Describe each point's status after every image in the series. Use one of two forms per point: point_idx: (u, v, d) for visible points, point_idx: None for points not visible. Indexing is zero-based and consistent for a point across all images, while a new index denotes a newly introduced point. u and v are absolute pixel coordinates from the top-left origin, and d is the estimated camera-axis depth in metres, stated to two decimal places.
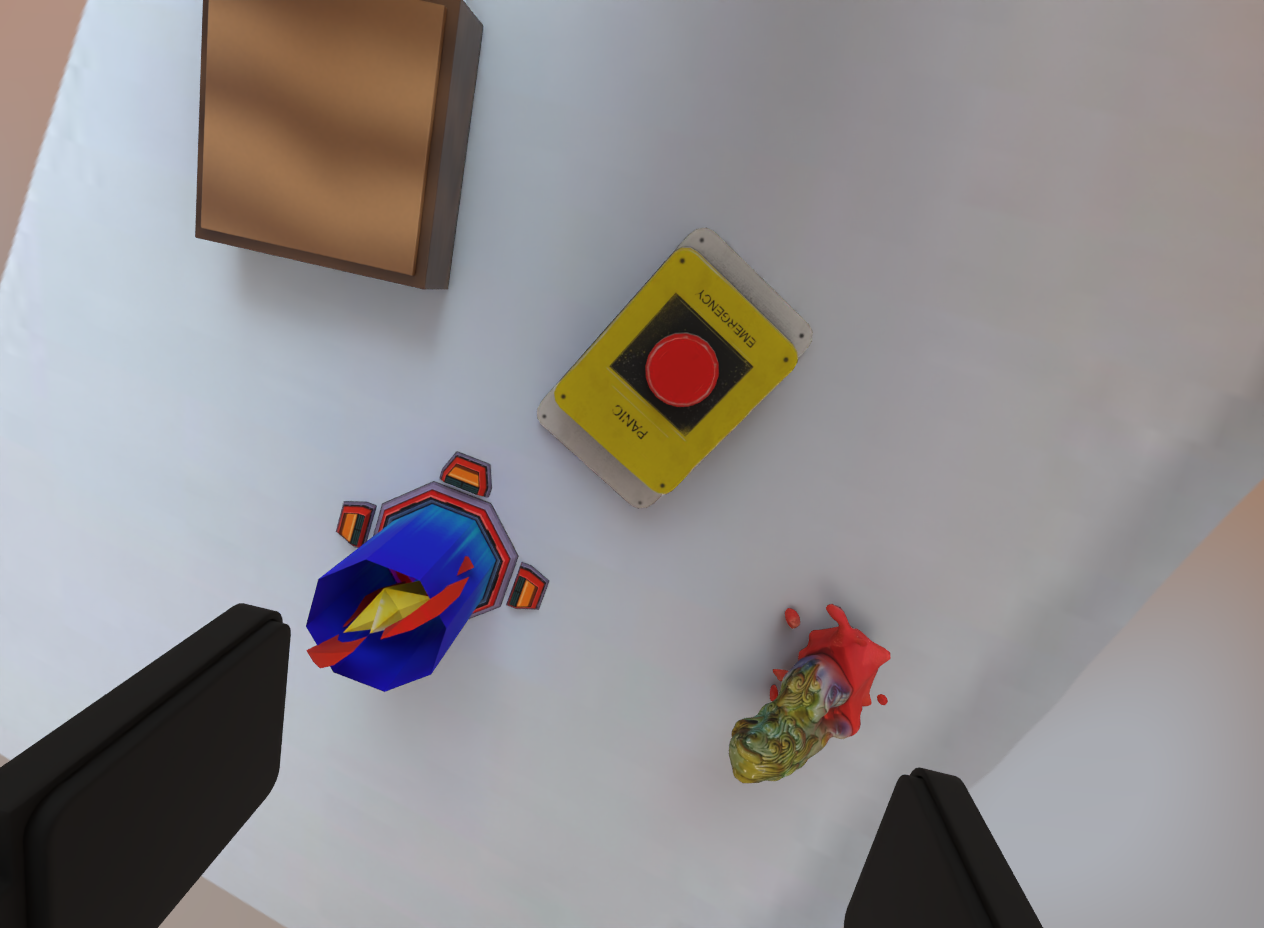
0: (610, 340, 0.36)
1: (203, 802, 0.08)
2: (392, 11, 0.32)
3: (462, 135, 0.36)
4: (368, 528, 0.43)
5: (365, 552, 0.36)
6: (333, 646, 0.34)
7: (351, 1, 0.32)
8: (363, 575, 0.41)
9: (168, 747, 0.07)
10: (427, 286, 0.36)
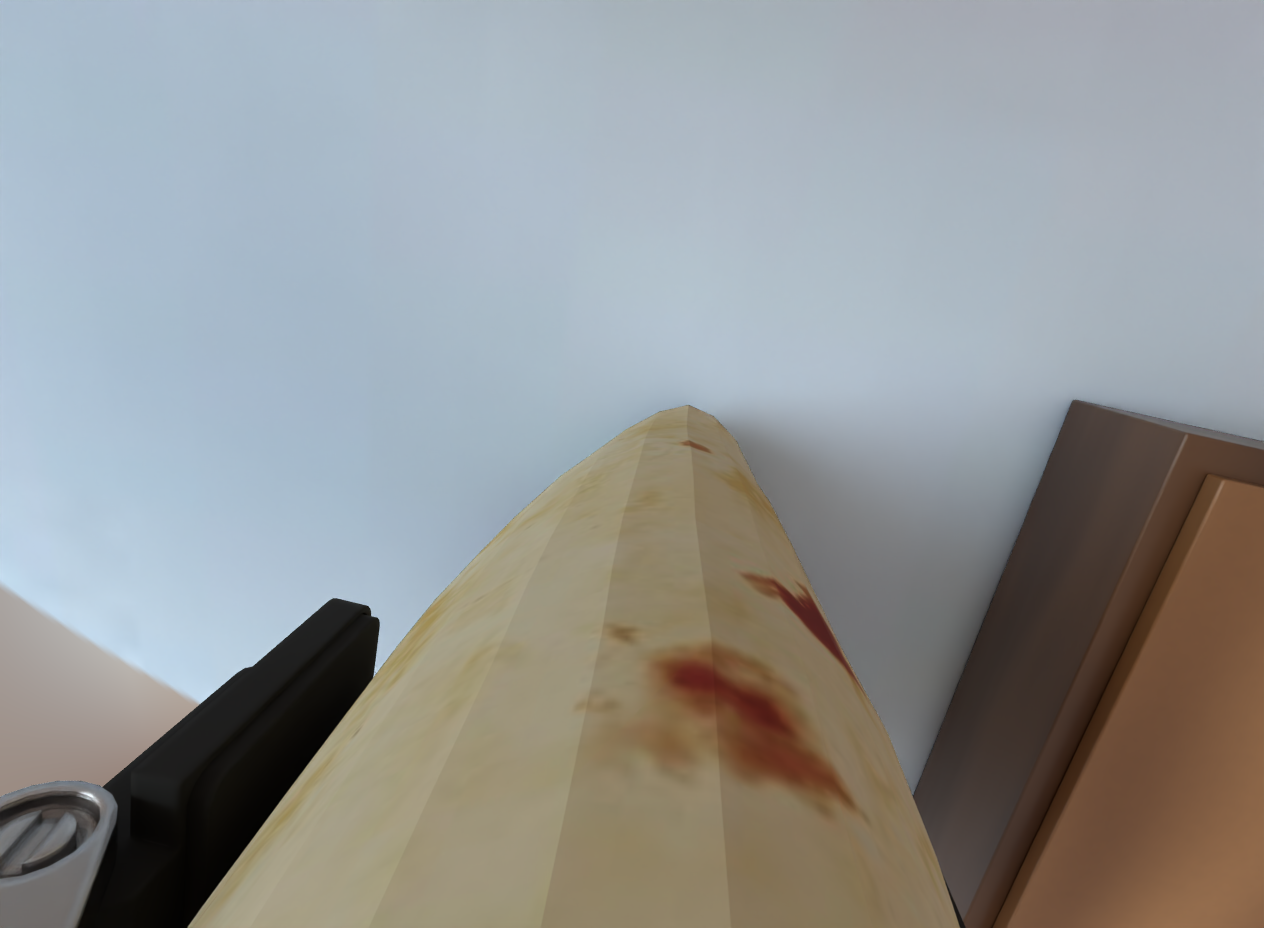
0: None
1: None
2: (1202, 618, 0.12)
3: None
4: None
5: None
6: None
7: (1151, 714, 0.12)
8: None
9: (291, 730, 0.08)
10: None
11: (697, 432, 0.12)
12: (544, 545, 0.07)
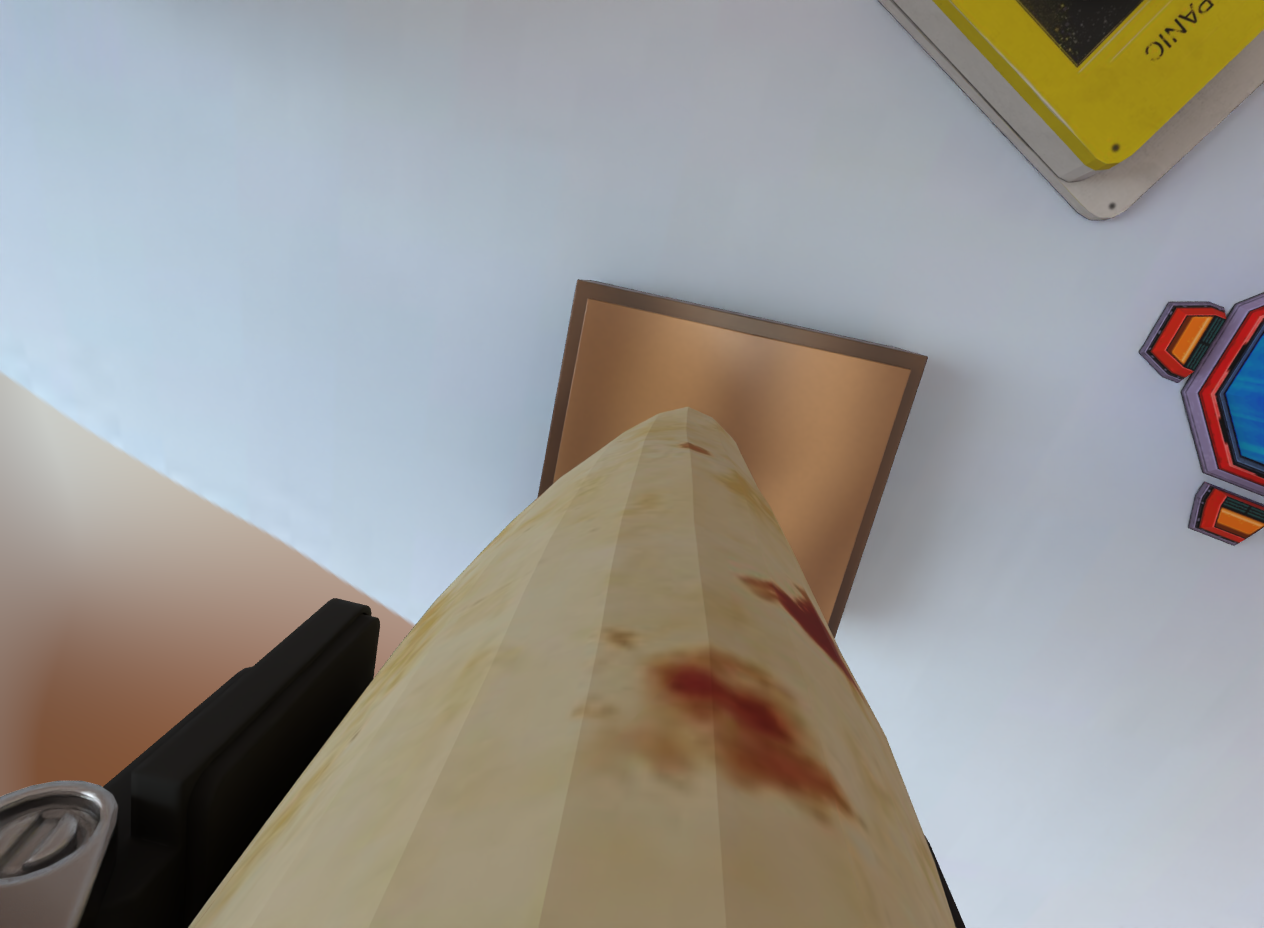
0: (1035, 66, 0.23)
1: None
2: (593, 365, 0.26)
3: (715, 308, 0.28)
4: (1241, 496, 0.29)
5: None
6: None
7: (582, 414, 0.27)
8: None
9: (291, 730, 0.08)
10: (920, 354, 0.26)
11: (696, 434, 0.12)
12: (543, 548, 0.07)
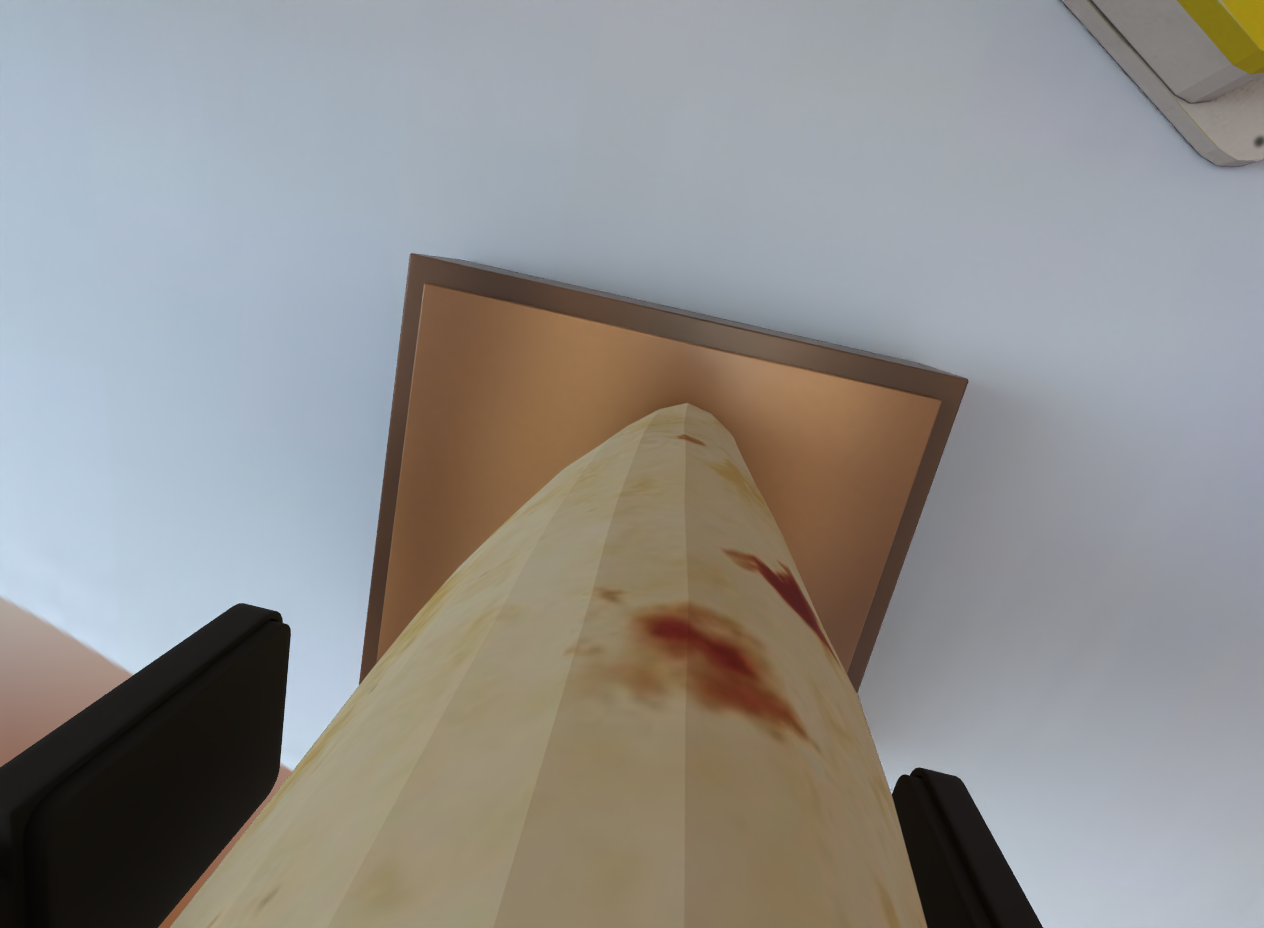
0: None
1: (203, 802, 0.08)
2: (438, 389, 0.17)
3: (641, 301, 0.19)
4: None
5: None
6: None
7: (426, 465, 0.17)
8: None
9: (168, 747, 0.07)
10: (956, 376, 0.16)
11: (694, 428, 0.13)
12: (544, 526, 0.08)
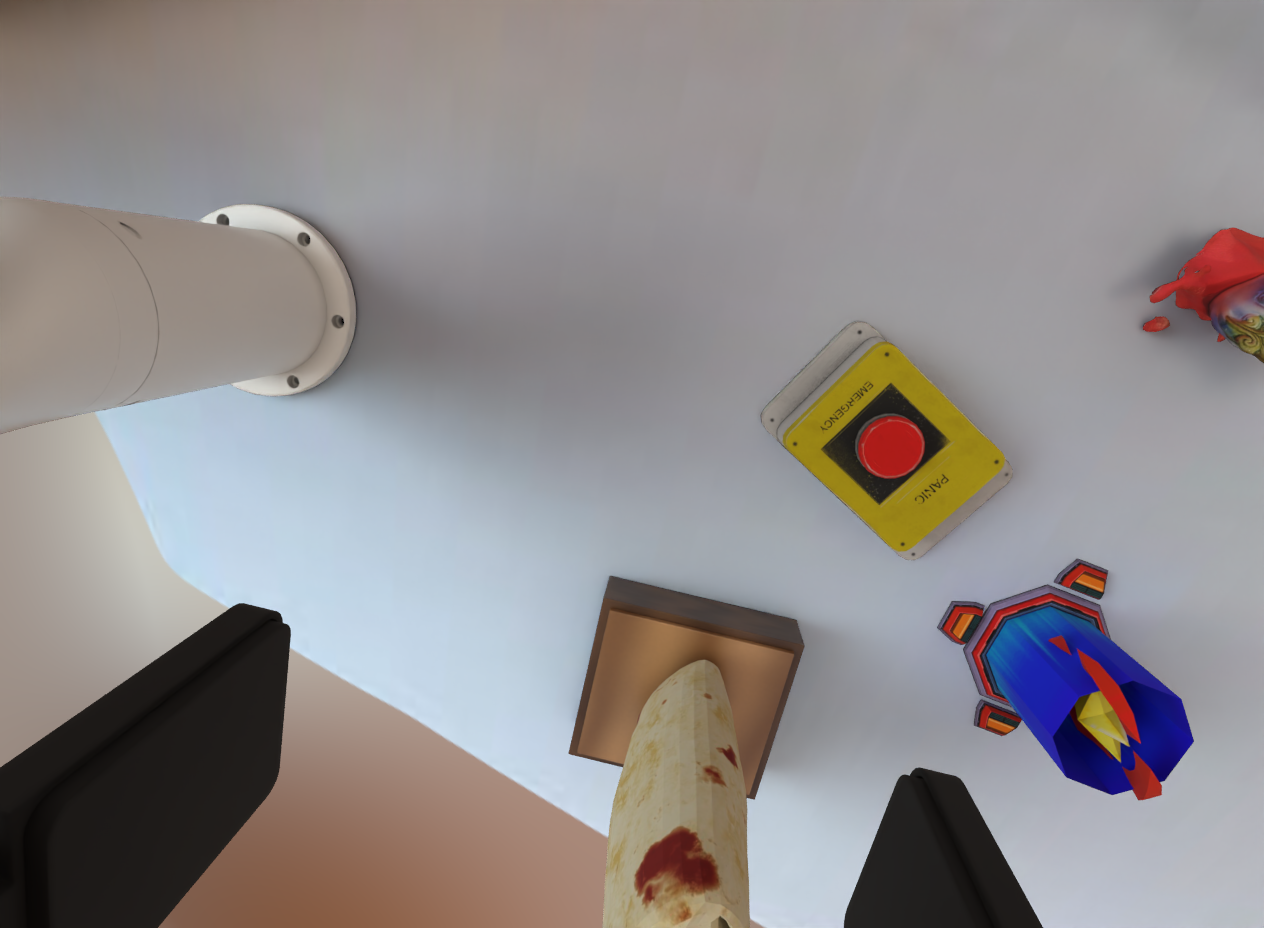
0: (857, 503, 0.42)
1: (203, 802, 0.08)
2: (612, 644, 0.46)
3: (685, 599, 0.48)
4: (1002, 709, 0.48)
5: (1040, 731, 0.40)
6: (1139, 779, 0.37)
7: (606, 670, 0.46)
8: None
9: (168, 747, 0.07)
10: (801, 642, 0.45)
11: (708, 682, 0.41)
12: (678, 737, 0.36)
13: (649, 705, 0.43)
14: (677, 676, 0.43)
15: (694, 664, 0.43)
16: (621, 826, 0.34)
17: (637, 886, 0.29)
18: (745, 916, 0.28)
